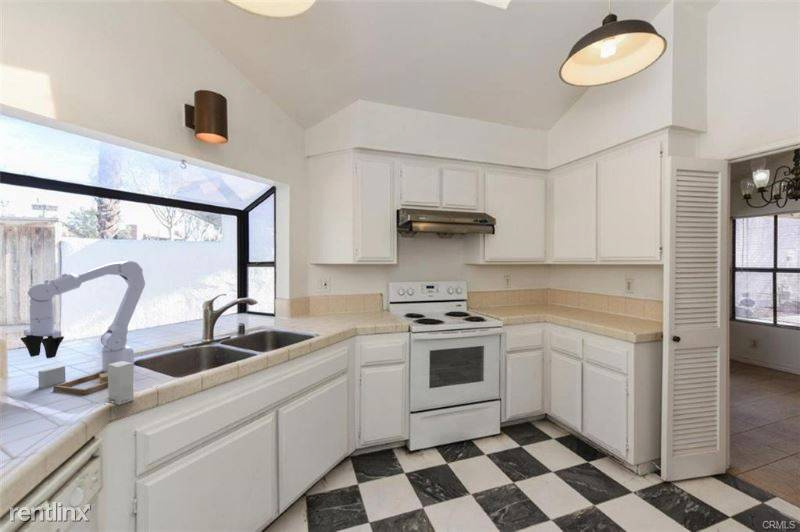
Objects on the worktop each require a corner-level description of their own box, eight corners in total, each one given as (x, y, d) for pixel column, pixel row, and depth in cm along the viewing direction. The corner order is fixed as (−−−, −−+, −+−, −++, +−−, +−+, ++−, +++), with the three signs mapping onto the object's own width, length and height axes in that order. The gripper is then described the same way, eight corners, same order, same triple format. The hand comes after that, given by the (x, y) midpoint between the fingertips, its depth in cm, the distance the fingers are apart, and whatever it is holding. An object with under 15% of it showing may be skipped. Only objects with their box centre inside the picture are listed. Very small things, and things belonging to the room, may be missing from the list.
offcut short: (110, 377, 124) (110, 371, 124) (113, 380, 121) (113, 375, 121) (99, 379, 122) (99, 373, 122) (101, 383, 118) (101, 377, 118)
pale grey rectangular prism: (60, 384, 121) (59, 365, 120) (65, 385, 120) (65, 366, 120) (39, 391, 115) (38, 371, 115) (44, 392, 114) (43, 371, 114)
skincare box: (134, 400, 108) (133, 363, 108) (118, 405, 105) (117, 367, 104) (123, 396, 111) (122, 360, 110) (107, 401, 107) (106, 364, 107)
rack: (103, 378, 127) (103, 370, 126) (132, 382, 123) (132, 374, 123) (53, 395, 112) (53, 386, 112) (84, 399, 109) (84, 390, 108)
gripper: (11, 319, 116) (12, 358, 116) (43, 321, 113) (44, 361, 113) (37, 315, 123) (38, 352, 123) (68, 317, 120) (68, 355, 120)
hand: (42, 356), depth 119 cm, fingers open, 7 cm apart
